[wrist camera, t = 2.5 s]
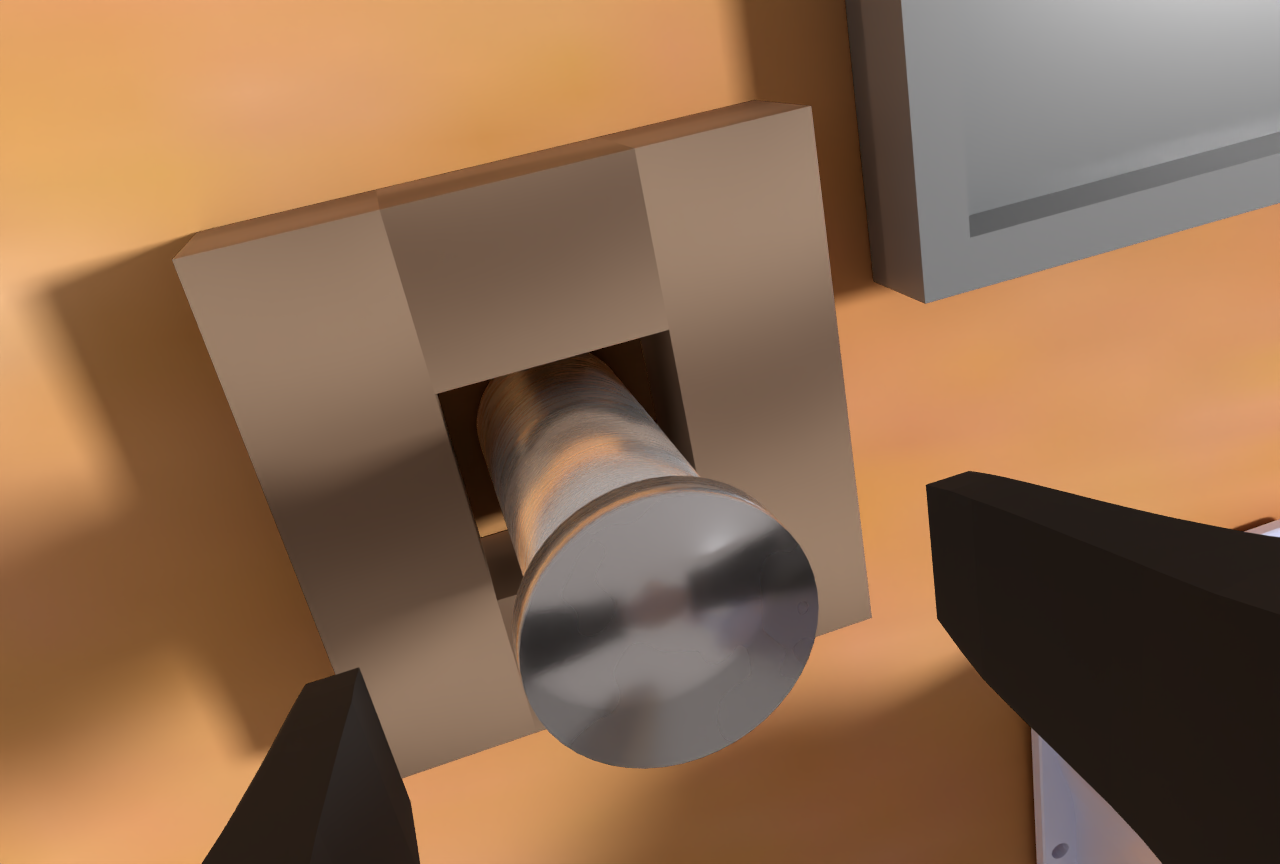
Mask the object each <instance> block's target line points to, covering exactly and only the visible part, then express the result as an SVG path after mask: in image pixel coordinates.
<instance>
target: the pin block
mask: <svg viewBox="0 0 1280 864" xmlns="http://www.w3.org/2000/svg"><path fill="white" fill-rule="evenodd" d="M172 261H173V264H174V266H175V269H176V271H177V274H178V276H179V279H180V281H181V284H182V287H183V289H184V292H185V294H186V297H187V299H188V302H189V304H190V307H191V309H192V312H193V314H194V317H195V320H196V322H197V325H198V327H199V330H200V332H201V335H202V337H203V340H204V342H205V345H206V347H207V350H208V353H209V355H210V358H211V360H212V363H213V365H214V368H215V370H216V373H217V375H218V378H219V380H220V383H221V385H222V388H223V391H224V393H225V396H226V398H227V401H228V403H229V406H230V408H231V411H232V413H233V416H234V418H235V421H236V424H237V426H238V429H239V431H240V434H241V436H242V439H243V441H244V444H245V446H246V449H247V451H248V454H249V457H250V459H251V462H252V464H253V467H254V469H255V472H256V474H257V477H258V479H259V482H260V484H261V487H262V490H263V492H264V495H265V497H266V500H267V502H268V505H269V507H270V510H271V512H272V515H273V517H274V520H275V523H276V525H277V528H278V530H279V533H280V535H281V538H282V540H283V543H284V545H285V548H286V550H287V553H288V555H289V558H290V561H291V563H292V566H293V568H294V571H295V573H296V576H297V578H298V581H299V583H300V586H301V588H302V591H303V594H304V596H305V599H306V601H307V604H308V606H309V609H310V611H311V614H312V616H313V619H314V621H315V624H316V627H317V629H318V632H319V634H320V637H321V639H322V642H323V644H324V647H325V649H326V652H327V654H328V657H329V660H330V662H331V665H332V667H333V670H334V672H335V675H336V674H339V673H343V672H346V671H349V670H352V669H355V668H358V667H359V668H360V671H361V673H362V676H363V679H364V681H365V684H366V686H367V689H368V692H369V694H370V697H371V700H372V702H373V705H374V707H375V710H376V713H377V715H378V718H379V720H380V723H381V726H382V728H383V731H384V734H385V736H386V739H387V741H388V744H389V747H390V749H391V752H392V755H393V757H394V760H395V762H396V765H397V768H398V770H399V773H400V776H401V778H405V777H408V776H410V775H413V774H416V773H419V772H422V771H425V770H428V769H431V768H434V767H437V766H440V765H443V764H446V763H448V762H451V761H454V760H457V759H460V758H463V757H466V756H469V755H472V754H475V753H478V752H481V751H484V750H486V749H489V748H492V747H495V746H498V745H501V744H504V743H507V742H510V741H513V740H516V739H519V738H522V737H524V736H527V735H530V734H533V733H536V732H539V731H542V730H545V729H546V728H545V726H544V725H543V724H542V723H541V722H540V720H539V719H538V717H537V716H536V714H535V712H534V710H533V709H532V707H531V705H530V703H529V700H528V698H527V695H526V693H525V690H524V687H523V683H522V680H521V676H520V672H519V669H518V665H517V661H516V657H515V652H514V647H513V638H512V620H513V609H514V605H515V601H516V596H517V592H518V589H519V587H520V584H521V581H522V579H523V574H522V571H521V568H520V565H519V562H518V559H517V556H516V553H515V550H514V547H513V544H512V541H511V537H510V534H509V531H508V530H507V531H503V532H500V533H497V534H494V535H490V536H487V537H484V538H480V535H479V531H478V528H477V525H476V521H475V518H474V515H473V511H472V508H471V505H470V501H469V498H468V495H467V491H466V488H465V485H464V481H463V478H462V475H461V471H460V468H459V464H458V461H457V458H456V454H455V451H454V448H453V444H452V441H451V438H450V434H449V431H448V428H447V424H446V421H445V418H444V414H443V411H442V408H441V404H440V401H439V398H438V393H441V392H445V391H449V390H452V389H456V388H459V387H463V386H467V385H470V384H474V383H478V382H481V381H485V380H488V379H492V378H496V377H499V376H503V375H507V374H510V373H514V372H517V371H521V370H525V369H528V368H532V367H536V366H539V365H543V364H546V363H550V362H554V361H557V360H561V359H565V358H568V357H572V356H575V355H579V354H583V353H586V352H590V351H594V350H597V349H601V348H605V347H608V346H612V345H615V344H619V343H623V342H626V341H630V340H634V339H637V338H640V343H641V348H642V353H643V357H644V362H645V367H646V372H647V377H648V382H649V387H650V392H651V397H652V401H653V406H654V411H655V416H656V421H657V425H658V426H659V428H660V429H661V430H662V431H663V432H664V434H665V435H666V436H667V437H668V438H669V440H670V441H671V442H672V443H673V444H674V446H675V447H676V448H677V449H678V450H679V452H680V453H681V454H682V455H683V456H684V458H685V459H686V460H687V461H688V463H689V464H690V465H691V466H692V467H693V469H694V470H695V471H696V472H697V473H698V475H699V476H700V477H701V478H708V479H712V480H716V481H719V482H722V483H726V484H729V485H731V486H733V487H735V488H737V489H740V490H742V491H744V492H745V493H747V494H748V495H750V496H751V497H753V498H755V499H756V500H758V501H759V502H760V503H761V504H762V505H763V506H764V507H765V508H767V509H768V510H769V511H770V512H771V513H772V514H773V515H774V516H775V518H776V519H777V520H778V521H779V522H780V523H781V524H782V525H783V526H784V527H785V528H786V530H787V531H788V532H789V533H790V534H791V535H792V537H793V538H794V539H795V540H796V541H797V543H798V544H799V545H800V547H801V548H802V550H803V552H804V554H805V555H806V557H807V559H808V561H809V564H810V566H811V569H812V571H813V574H814V578H815V582H816V587H817V591H818V605H819V611H818V625H817V630H816V635H815V637H817V636H820V635H823V634H826V633H829V632H832V631H835V630H837V629H840V628H843V627H846V626H849V625H852V624H855V623H858V622H861V621H864V620H867V619H870V618H872V615H871V606H870V598H869V589H868V581H867V572H866V564H865V556H864V547H863V539H862V530H861V522H860V513H859V505H858V496H857V488H856V480H855V471H854V463H853V454H852V446H851V437H850V429H849V420H848V412H847V404H846V395H845V387H844V378H843V370H842V361H841V353H840V344H839V336H838V328H837V319H836V311H835V302H834V294H833V285H832V277H831V268H830V260H829V252H828V243H827V235H826V226H825V218H824V209H823V201H822V192H821V184H820V176H819V167H818V159H817V150H816V142H815V133H814V125H813V117H812V108H811V106H807V105H797V104H787V103H777V102H767V101H757V100H753V101H748V102H744V103H740V104H736V105H731V106H727V107H723V108H719V109H715V110H710V111H706V112H702V113H698V114H693V115H689V116H685V117H681V118H677V119H672V120H668V121H664V122H660V123H655V124H651V125H647V126H643V127H639V128H634V129H630V130H626V131H622V132H617V133H613V134H609V135H605V136H601V137H596V138H592V139H588V140H584V141H579V142H575V143H571V144H567V145H563V146H558V147H554V148H550V149H546V150H541V151H537V152H533V153H529V154H525V155H520V156H516V157H512V158H508V159H503V160H499V161H495V162H491V163H487V164H482V165H478V166H474V167H470V168H465V169H461V170H457V171H453V172H449V173H444V174H440V175H436V176H432V177H427V178H423V179H419V180H415V181H411V182H406V183H402V184H398V185H394V186H389V187H385V188H381V189H377V190H373V191H368V192H364V193H360V194H356V195H351V196H347V197H343V198H339V199H335V200H330V201H326V202H322V203H318V204H313V205H309V206H305V207H301V208H297V209H292V210H288V211H284V212H280V213H275V214H271V215H267V216H263V217H259V218H254V219H250V220H246V221H242V222H237V223H233V224H229V225H225V226H221V227H216V228H212V229H208V230H204V231H199V232H197V233H196V234H195V235H194V236H193V237H192V238H191V239H190V240H189V242H188V243H187V244H186V245H185V246H184V247H183V248H182V249H181V250H180V251H179V252H178V254H177V255H176V256H175V257H174V258H173V259H172Z"/></svg>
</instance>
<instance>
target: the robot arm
mask: <svg viewBox="0 0 1280 864" xmlns="http://www.w3.org/2000/svg"><path fill="white" fill-rule="evenodd" d="M926 491H927V503H928V515H929V527H930V538H931V550H932V562H933V574H934V586H935V597H936V609H937V619H938V620H939V622H940V623H941V624H942V626H943V627H944V628H945V630H946V631H947V633H948V634H949V635H950V637H951V638H952V639H953V641H954V642H955V643H956V645H957V646H958V648H959V649H960V650H961V652H962V653H963V654H964V655H965V657H966V658H967V659H968V661H969V662H970V663H971V664H972V666H973V667H974V668H975V669H976V671H977V672H978V673H979V674H980V676H981V677H982V678H983V679H984V680H985V681H986V682H987V684H988V685H989V686H990V687H991V688H992V689H993V690H994V691H995V692H996V693H997V694H998V695H999V696H1000V697H1001V698H1002V699H1003V700H1004V701H1005V702H1006V703H1007V704H1008V705H1009V706H1010V707H1011V708H1012V709H1013V710H1014V711H1015V712H1016V713H1017V714H1018V715H1019V716H1020V717H1021V718H1022V719H1023V720H1024V721H1025V722H1026V723H1027V724H1028V725H1029V726H1030V727H1031V737H1032V760H1033V784H1034V808H1035V831H1036V855H1037V864H1280V519H1279V520H1276V521H1273V522H1270V523H1267V524H1264V525H1261V526H1259V527H1256V528H1253V529H1250V530H1247V531H1244V532H1243V531H1237V530H1232V529H1226V528H1221V527H1216V526H1211V525H1206V524H1201V523H1196V522H1191V521H1186V520H1181V519H1176V518H1172V517H1167V516H1163V515H1158V514H1154V513H1149V512H1145V511H1140V510H1136V509H1132V508H1128V507H1123V506H1119V505H1115V504H1111V503H1107V502H1103V501H1099V500H1095V499H1091V498H1087V497H1083V496H1079V495H1075V494H1071V493H1067V492H1063V491H1059V490H1055V489H1051V488H1047V487H1043V486H1039V485H1035V484H1031V483H1027V482H1023V481H1018V480H1014V479H1010V478H1005V477H1001V476H996V475H991V474H985V473H979V472H972V471H968V472H965V473H961V474H958V475H955V476H952V477H949V478H946V479H943V480H940V481H937V482H933V483H930V484H927V485H926ZM202 864H420V860H419V853H418V846H417V840H416V833H415V827H414V820H413V814H412V808H411V802H410V799H409V797H408V794H407V791H406V789H405V786H404V783H403V781H402V778H401V776H400V773H399V770H398V768H397V765H396V762H395V760H394V757H393V755H392V752H391V749H390V747H389V744H388V741H387V739H386V736H385V734H384V731H383V728H382V726H381V723H380V720H379V718H378V715H377V713H376V710H375V707H374V705H373V702H372V700H371V697H370V694H369V692H368V689H367V686H366V684H365V681H364V679H363V676H362V673H361V671H360V668H359V667H358V668H355V669H352V670H349V671H346V672H343V673H339V674H336V675H333V676H330V677H327V678H324V679H321V680H318V681H315V682H311V683H308V684H306V685H305V686H304V688H303V690H302V691H301V693H300V695H299V696H298V698H297V700H296V702H295V703H294V705H293V707H292V709H291V711H290V712H289V714H288V716H287V718H286V720H285V722H284V724H283V725H282V727H281V729H280V731H279V733H278V735H277V737H276V739H275V740H274V742H273V744H272V746H271V748H270V750H269V751H268V753H267V755H266V757H265V759H264V761H263V762H262V764H261V766H260V768H259V770H258V771H257V773H256V775H255V777H254V778H253V780H252V782H251V784H250V785H249V787H248V789H247V791H246V792H245V794H244V796H243V797H242V799H241V801H240V803H239V804H238V806H237V808H236V809H235V811H234V813H233V815H232V816H231V818H230V820H229V821H228V823H227V825H226V826H225V828H224V830H223V831H222V833H221V835H220V836H219V838H218V839H217V841H216V842H215V844H214V845H213V847H212V848H211V850H210V852H209V853H208V855H207V856H206V858H205V859H204V861H203V862H202Z"/></svg>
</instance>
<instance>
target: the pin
mask: <svg viewBox="0 0 1280 864" xmlns="http://www.w3.org/2000/svg"><path fill="white" fill-rule="evenodd" d="M477 434H478V438H479V443H480V446H481V449H482V452H483V455H484V458H485V461H486V464H487V467H488V470H489V473H490V476H491V479H492V482H493V485H494V488H495V492H496V495H497V498H498V501H499V504H500V507H501V510H502V513H503V516H504V519H505V522H506V525H507V528H508V531H509V534H510V537H511V541H512V544H513V547H514V550H515V553H516V556H517V559H518V562H519V565H520V568H521V571H522V574H523V579H522V581H521V584H520V587H519V589H518V592H517V596H516V601H515V605H514V609H513V620H512V638H513V647H514V652H515V657H516V661H517V665H518V669H519V672H520V676H521V680H522V683H523V687H524V690H525V693H526V695H527V698H528V700H529V703H530V705H531V707H532V709H533V710H534V712H535V714H536V716H537V717H538V719H539V720H540V722H541V723H542V724H543V725H544V726H545V728H546V729H547V730H548V731H549V732H550V733H551V734H552V735H553V736H554V737H555V738H557V739H558V740H559V741H560V742H561V743H562V744H564V745H565V746H567V747H568V748H570V749H572V750H573V751H575V752H576V753H578V754H580V755H583V756H585V757H587V758H589V759H592V760H594V761H598V762H601V763H605V764H608V765H613V766H619V767H625V768H645V769H646V768H659V767H667V766H673V765H678V764H683V763H686V762H690V761H693V760H696V759H700V758H702V757H705V756H707V755H710V754H712V753H714V752H717V751H719V750H721V749H723V748H725V747H726V746H728V745H730V744H732V743H734V742H736V741H737V740H739V739H740V738H742V737H743V736H744V735H746V734H747V733H749V732H750V731H752V730H753V729H754V728H755V727H757V726H758V725H759V724H760V723H761V722H763V721H764V720H765V719H766V718H767V717H768V716H769V715H770V714H771V713H772V712H773V711H774V710H775V709H776V708H777V707H778V706H779V705H780V703H781V702H782V701H783V700H784V698H785V697H786V696H787V695H788V693H789V692H790V691H791V689H792V688H793V686H794V684H795V683H796V681H797V680H798V678H799V676H800V675H801V673H802V671H803V669H804V667H805V664H806V662H807V660H808V658H809V655H810V652H811V649H812V646H813V643H814V639H815V635H816V630H817V625H818V611H819V605H818V591H817V587H816V582H815V578H814V574H813V571H812V569H811V566H810V564H809V561H808V559H807V557H806V555H805V554H804V552H803V550H802V548H801V547H800V545H799V544H798V543H797V541H796V540H795V539H794V538H793V537H792V535H791V534H790V533H789V532H788V531H787V530H786V528H785V527H784V526H783V525H782V524H781V523H780V522H779V521H778V520H777V519H776V518H775V516H774V515H773V514H772V513H771V512H770V511H769V510H768V509H767V508H765V507H764V506H763V505H762V504H761V503H760V502H759V501H758V500H756V499H755V498H753V497H751V496H750V495H748V494H747V493H745V492H744V491H742V490H740V489H737V488H735V487H733V486H731V485H729V484H726V483H722V482H719V481H716V480H712V479H708V478H701V477H700V476H699V475H698V473H697V472H696V471H695V470H694V469H693V467H692V466H691V465H690V464H689V463H688V461H687V460H686V459H685V458H684V456H683V455H682V454H681V453H680V452H679V450H678V449H677V448H676V447H675V446H674V444H673V443H672V442H671V441H670V440H669V438H668V437H667V436H666V435H665V434H664V432H663V431H662V430H661V429H660V428H659V426H658V425H657V424H656V423H655V422H654V420H653V419H652V418H651V417H650V415H649V414H648V413H647V412H646V411H645V409H644V408H643V407H642V406H641V405H640V403H639V402H638V401H637V400H636V399H635V397H634V396H633V395H632V394H631V393H630V391H629V390H628V389H627V388H626V387H625V385H624V384H623V383H622V382H621V381H620V379H619V378H618V377H617V376H616V374H615V373H614V372H613V371H612V370H611V369H610V367H609V366H607V365H606V364H605V363H604V362H603V361H602V360H600V359H599V358H597V357H596V356H594V355H592V354H590V353H588V352H586V353H583V354H579V355H575V356H572V357H568V358H565V359H561V360H557V361H554V362H550V363H546V364H543V365H539V366H536V367H532V368H528V369H525V370H521V371H517V372H514V373H510V374H507V375H503V376H499V377H496V378H492V379H491V381H490V382H489V384H488V385H487V387H486V389H485V391H484V393H483V395H482V398H481V400H480V403H479V408H478V412H477Z"/></svg>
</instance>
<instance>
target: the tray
mask: <svg viewBox="0 0 1280 864" xmlns="http://www.w3.org/2000/svg"><path fill="white" fill-rule="evenodd" d="M845 4H846V14H847V24H848V34H849V43H850V53H851V63H852V73H853V83H854V93H855V103H856V113H857V123H858V133H859V143H860V152H861V162H862V172H863V182H864V192H865V202H866V212H867V222H868V232H869V242H870V252H871V261H872V271H873V281H874V282H876V283H878V284H880V285H883V286H885V287H887V288H890V289H892V290H894V291H897V292H899V293H901V294H904V295H906V296H908V297H911V298H913V299H915V300H918V301H920V302H923V303H925V304H926V303H929V302H933V301H936V300H940V299H943V298H947V297H950V296H954V295H957V294H961V293H964V292H968V291H972V290H975V289H979V288H982V287H986V286H989V285H993V284H996V283H1000V282H1003V281H1007V280H1010V279H1014V278H1017V277H1021V276H1024V275H1028V274H1031V273H1035V272H1038V271H1042V270H1045V269H1049V268H1052V267H1056V266H1059V265H1063V264H1066V263H1070V262H1074V261H1077V260H1081V259H1084V258H1088V257H1091V256H1095V255H1098V254H1102V253H1105V252H1109V251H1112V250H1116V249H1119V248H1123V247H1126V246H1130V245H1133V244H1137V243H1140V242H1144V241H1147V240H1151V239H1154V238H1158V237H1161V236H1165V235H1168V234H1172V233H1176V232H1179V231H1183V230H1186V229H1190V228H1193V227H1197V226H1200V225H1204V224H1207V223H1211V222H1214V221H1218V220H1221V219H1225V218H1228V217H1232V216H1235V215H1239V214H1242V213H1246V212H1249V211H1253V210H1256V209H1260V208H1263V207H1267V206H1270V205H1274V204H1278V203H1280V0H845Z"/></svg>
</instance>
